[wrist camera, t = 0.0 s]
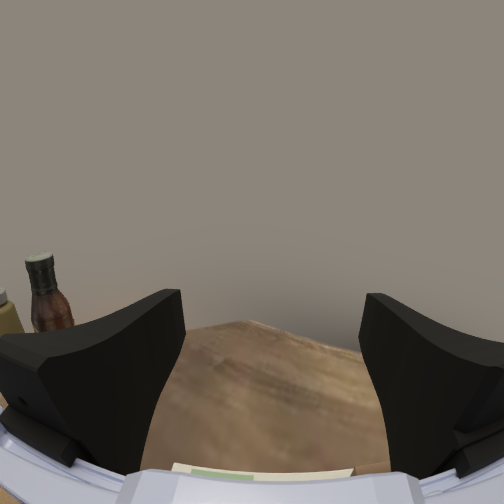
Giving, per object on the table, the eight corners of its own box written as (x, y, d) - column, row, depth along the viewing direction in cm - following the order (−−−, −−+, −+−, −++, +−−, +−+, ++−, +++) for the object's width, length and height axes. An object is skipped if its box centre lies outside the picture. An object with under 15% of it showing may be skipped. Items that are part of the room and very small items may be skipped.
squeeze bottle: (15, 393, 26) (-25, 279, 22) (-6, 374, 28) (-39, 272, 24) (47, 370, 34) (17, 264, 30) (24, 356, 36) (-2, 259, 32)
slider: (403, 516, 13) (422, 497, 12) (350, 528, 13) (364, 512, 12) (392, 478, 18) (407, 456, 17) (344, 487, 18) (354, 466, 17)
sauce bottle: (63, 372, 34) (32, 250, 30) (97, 374, 36) (69, 247, 31) (51, 397, 28) (9, 262, 24) (88, 401, 30) (48, 260, 25)
